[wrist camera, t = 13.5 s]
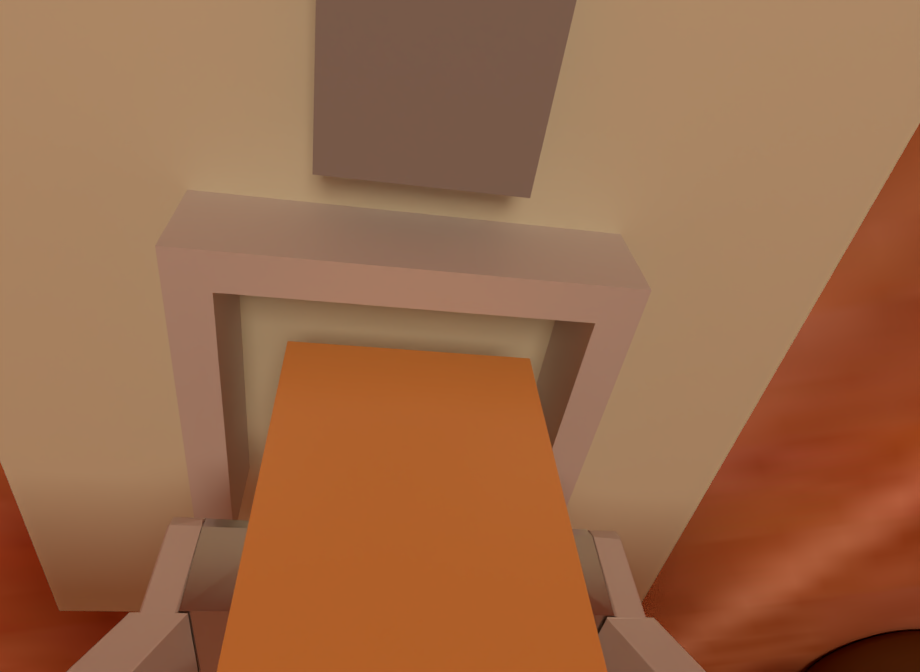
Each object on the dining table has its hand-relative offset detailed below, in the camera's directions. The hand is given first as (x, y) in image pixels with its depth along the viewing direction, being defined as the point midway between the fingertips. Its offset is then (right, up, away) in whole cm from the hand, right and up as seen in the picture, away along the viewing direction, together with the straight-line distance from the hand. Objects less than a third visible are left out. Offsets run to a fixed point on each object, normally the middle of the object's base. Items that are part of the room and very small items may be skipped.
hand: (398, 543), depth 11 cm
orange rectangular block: (0, +2, +2) cm, 3 cm away
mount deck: (-1, +3, +4) cm, 6 cm away
